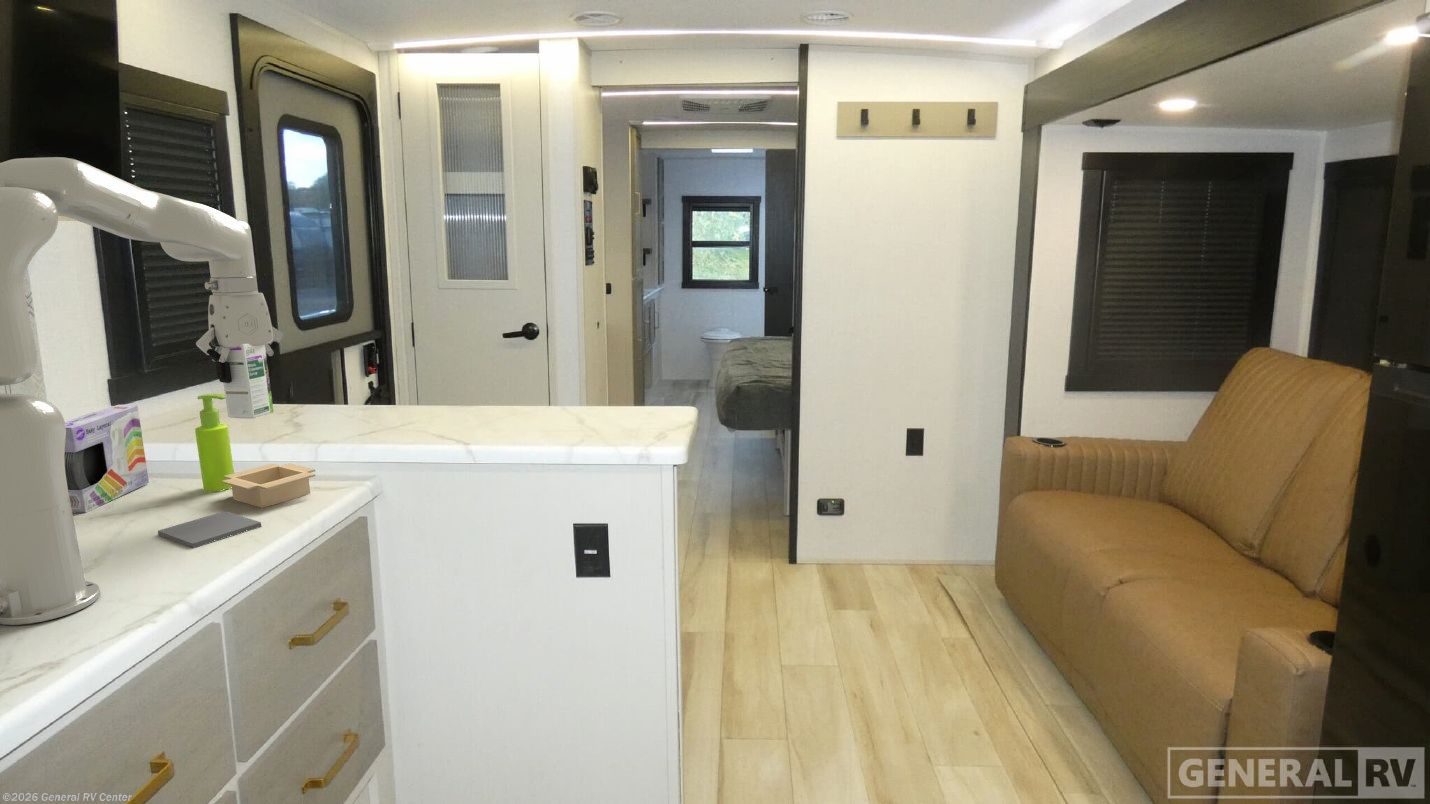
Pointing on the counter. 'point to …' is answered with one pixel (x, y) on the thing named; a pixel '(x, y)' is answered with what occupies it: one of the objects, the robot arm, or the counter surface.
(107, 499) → the cake pan box
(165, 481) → the counter surface
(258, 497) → the carton
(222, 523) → the mat
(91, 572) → the counter surface
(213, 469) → the soap dispenser
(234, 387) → the syrup box
